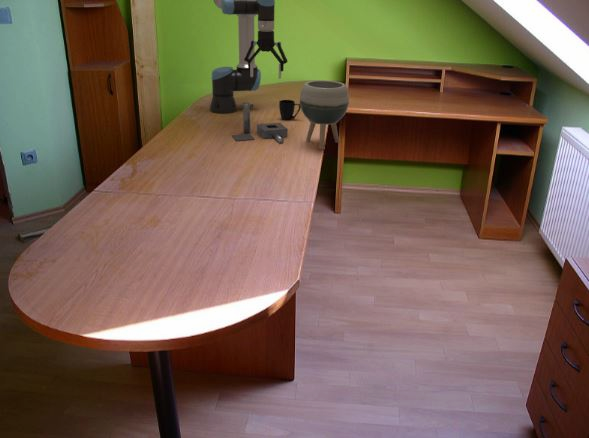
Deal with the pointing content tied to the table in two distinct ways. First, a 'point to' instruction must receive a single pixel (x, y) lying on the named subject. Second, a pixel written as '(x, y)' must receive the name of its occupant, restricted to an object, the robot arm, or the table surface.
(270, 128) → the block
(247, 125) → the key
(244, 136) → the mat
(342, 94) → the planter
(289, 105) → the mug
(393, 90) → the table surface
